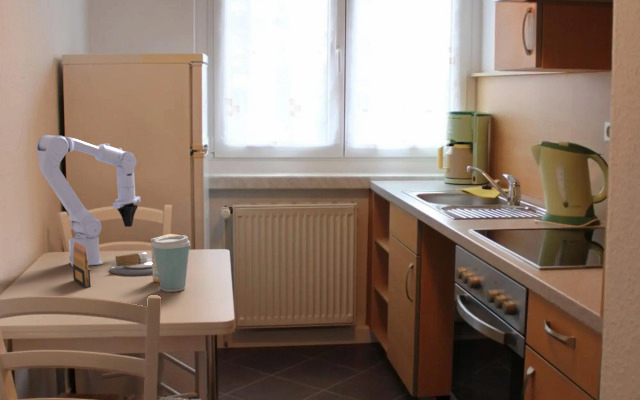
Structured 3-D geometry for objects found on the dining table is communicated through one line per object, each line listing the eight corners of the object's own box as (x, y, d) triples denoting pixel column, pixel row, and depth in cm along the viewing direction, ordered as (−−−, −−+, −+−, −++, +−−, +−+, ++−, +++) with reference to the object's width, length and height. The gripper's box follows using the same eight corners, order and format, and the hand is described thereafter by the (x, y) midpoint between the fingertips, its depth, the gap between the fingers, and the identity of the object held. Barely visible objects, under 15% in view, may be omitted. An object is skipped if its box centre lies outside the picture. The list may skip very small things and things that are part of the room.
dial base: (115, 278, 232) (115, 274, 231) (106, 265, 250) (106, 261, 250) (181, 271, 239) (181, 267, 239) (167, 259, 258) (167, 255, 257)
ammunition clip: (73, 280, 230) (71, 241, 228) (79, 279, 231) (77, 240, 229) (84, 288, 221) (82, 247, 219) (90, 287, 222) (88, 246, 220)
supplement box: (170, 275, 235) (169, 233, 233) (182, 277, 232) (181, 234, 230) (151, 281, 228) (150, 238, 226) (164, 283, 225) (162, 239, 223)
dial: (152, 258, 253) (152, 246, 252) (168, 265, 243) (167, 252, 242) (110, 264, 244) (109, 252, 244) (124, 271, 235) (123, 259, 234)
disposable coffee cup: (155, 295, 212) (153, 242, 210) (152, 286, 222) (150, 235, 220) (194, 292, 215) (192, 239, 213) (189, 283, 225) (187, 232, 223)
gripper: (127, 183, 267) (129, 222, 269) (103, 189, 253) (106, 229, 255) (145, 184, 265) (147, 222, 267) (122, 189, 251) (124, 230, 253)
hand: (128, 226), depth 261 cm, fingers closed
